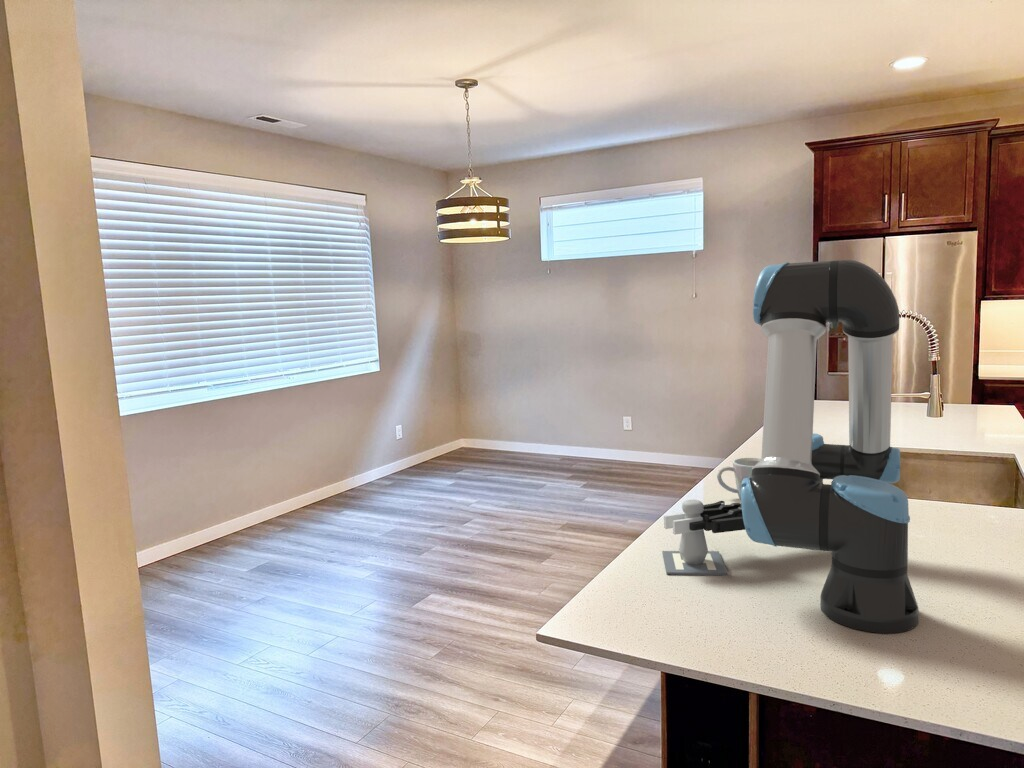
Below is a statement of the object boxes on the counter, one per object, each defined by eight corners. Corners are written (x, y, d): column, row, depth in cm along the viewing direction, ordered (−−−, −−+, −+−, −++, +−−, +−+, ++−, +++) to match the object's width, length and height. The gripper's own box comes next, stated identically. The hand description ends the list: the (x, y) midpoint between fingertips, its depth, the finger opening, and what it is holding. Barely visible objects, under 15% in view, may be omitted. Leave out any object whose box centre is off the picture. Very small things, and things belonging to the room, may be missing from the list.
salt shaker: (687, 567, 143) (686, 506, 141) (674, 558, 148) (673, 498, 147) (713, 564, 144) (712, 503, 142) (699, 554, 149) (698, 495, 148)
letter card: (727, 575, 139) (727, 572, 139) (666, 574, 141) (666, 572, 141) (718, 553, 151) (718, 551, 151) (662, 553, 153) (662, 550, 153)
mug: (778, 502, 185) (778, 465, 184) (722, 504, 186) (722, 467, 184) (765, 491, 196) (765, 456, 194) (712, 493, 196) (711, 458, 195)
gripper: (791, 538, 143) (690, 555, 136) (743, 516, 158) (651, 530, 152) (791, 503, 142) (689, 518, 135) (743, 484, 157) (650, 497, 151)
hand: (669, 524), depth 143 cm, fingers closed on salt shaker, 3 cm apart
